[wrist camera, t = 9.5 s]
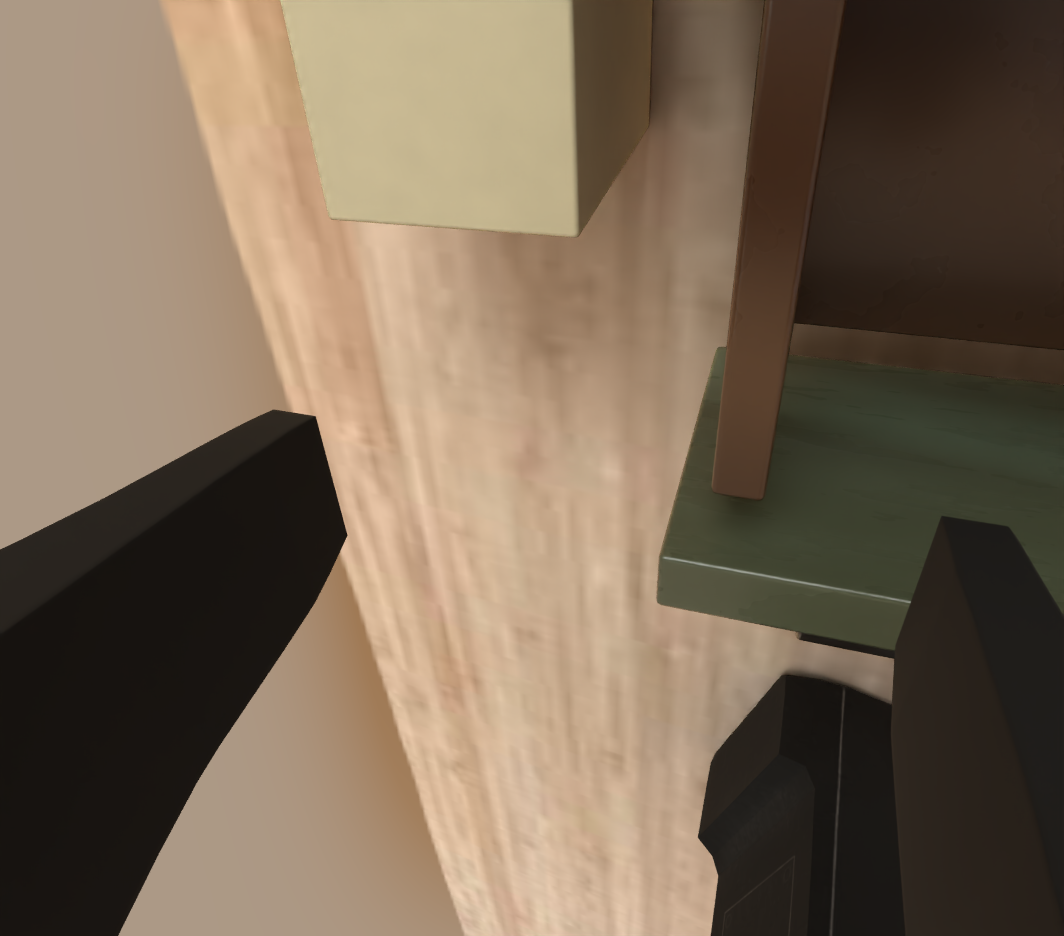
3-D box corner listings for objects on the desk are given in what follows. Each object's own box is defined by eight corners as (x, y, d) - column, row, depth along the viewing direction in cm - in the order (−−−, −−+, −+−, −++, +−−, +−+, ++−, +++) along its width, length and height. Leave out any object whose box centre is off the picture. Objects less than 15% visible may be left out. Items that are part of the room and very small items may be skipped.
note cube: (649, 128, 17) (578, 239, 13) (449, 121, 18) (327, 221, 14) (657, -141, 14) (570, -106, 10) (420, -128, 15) (257, -92, 11)
